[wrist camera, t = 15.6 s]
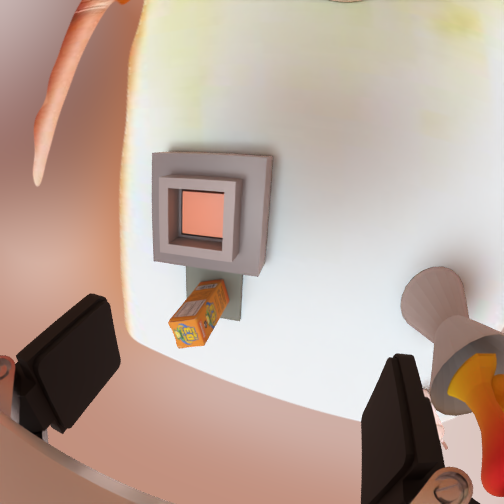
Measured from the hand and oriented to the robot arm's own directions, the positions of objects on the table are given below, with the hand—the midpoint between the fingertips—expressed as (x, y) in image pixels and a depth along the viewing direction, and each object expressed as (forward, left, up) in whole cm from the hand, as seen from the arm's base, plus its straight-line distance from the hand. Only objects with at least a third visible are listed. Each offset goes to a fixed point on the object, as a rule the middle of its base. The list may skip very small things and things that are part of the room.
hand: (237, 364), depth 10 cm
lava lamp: (+9, +18, -26) cm, 33 cm away
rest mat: (+11, -9, -26) cm, 30 cm away
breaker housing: (+1, -9, -26) cm, 28 cm away
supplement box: (+11, -9, -26) cm, 29 cm away
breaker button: (+1, -9, -25) cm, 26 cm away
